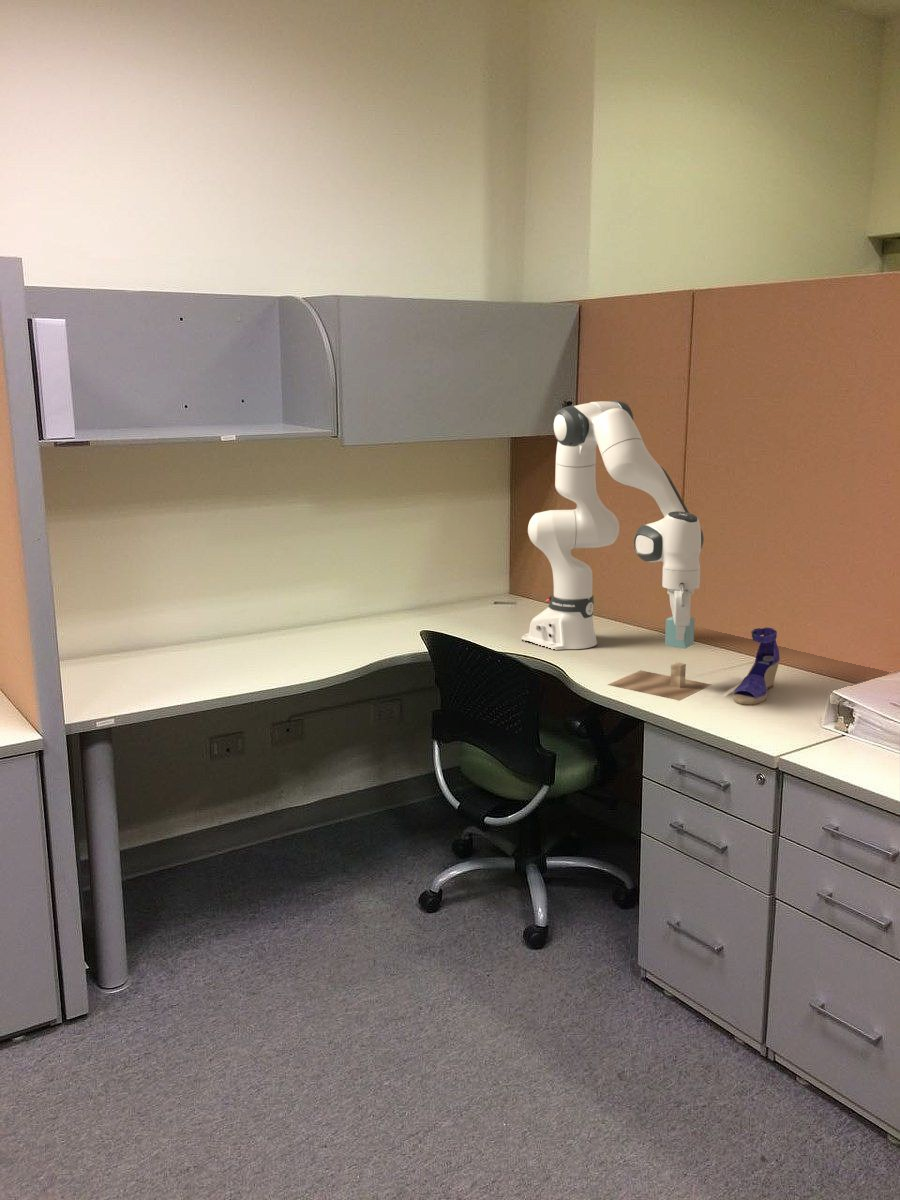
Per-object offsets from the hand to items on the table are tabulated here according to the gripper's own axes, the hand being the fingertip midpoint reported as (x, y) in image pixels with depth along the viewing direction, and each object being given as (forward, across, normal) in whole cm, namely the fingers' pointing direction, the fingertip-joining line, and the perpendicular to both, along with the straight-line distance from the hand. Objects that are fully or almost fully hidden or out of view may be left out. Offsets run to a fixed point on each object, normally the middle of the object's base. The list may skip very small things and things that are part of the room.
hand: (679, 635), depth 244 cm
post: (+14, 0, 0) cm, 14 cm away
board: (+14, +1, +4) cm, 14 cm away
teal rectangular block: (+2, 0, 0) cm, 2 cm away
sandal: (+14, -2, -19) cm, 23 cm away
